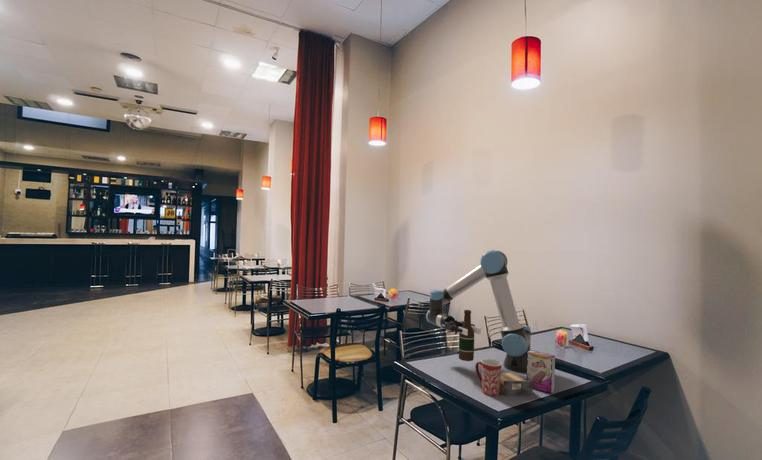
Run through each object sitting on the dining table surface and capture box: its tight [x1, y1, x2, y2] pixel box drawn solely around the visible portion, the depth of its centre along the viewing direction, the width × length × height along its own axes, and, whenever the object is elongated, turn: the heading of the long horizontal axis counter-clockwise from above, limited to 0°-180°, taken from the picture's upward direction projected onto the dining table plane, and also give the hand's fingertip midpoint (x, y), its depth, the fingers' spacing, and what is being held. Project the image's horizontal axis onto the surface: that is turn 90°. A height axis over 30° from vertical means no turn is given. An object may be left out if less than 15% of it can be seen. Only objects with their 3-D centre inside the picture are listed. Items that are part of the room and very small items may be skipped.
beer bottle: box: [458, 309, 475, 362], centre depth 176 cm, size 8×8×24 cm
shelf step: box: [499, 372, 533, 396], centre depth 163 cm, size 13×16×6 cm
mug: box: [475, 358, 503, 397], centre depth 158 cm, size 13×9×14 cm
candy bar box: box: [526, 349, 556, 395], centre depth 163 cm, size 11×5×16 cm, turn 49°
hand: (473, 332), depth 171 cm, fingers closed on beer bottle, 7 cm apart
